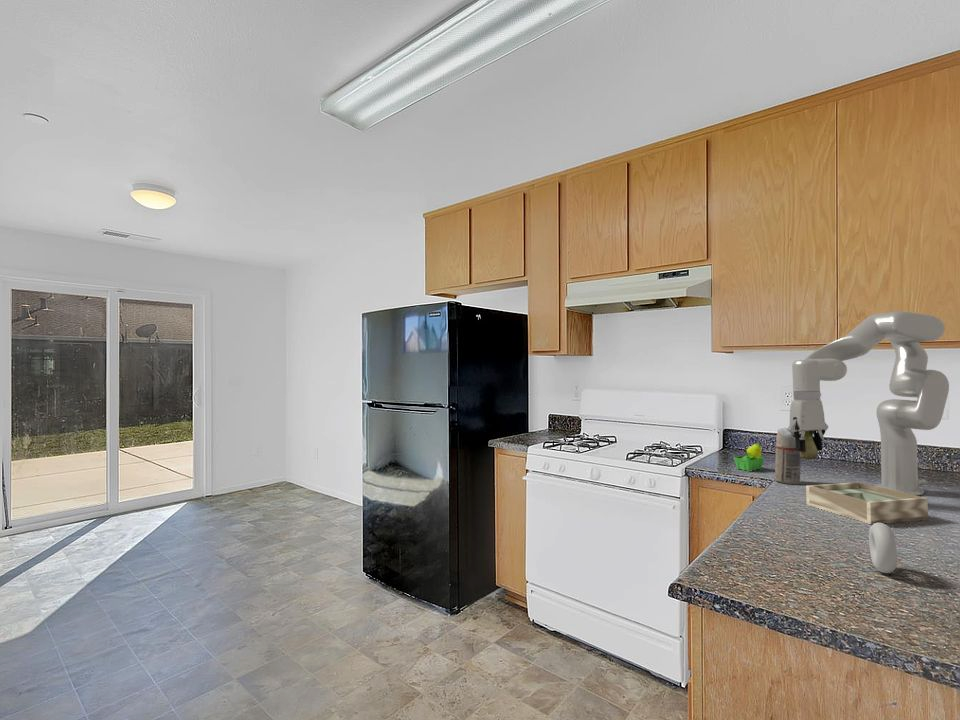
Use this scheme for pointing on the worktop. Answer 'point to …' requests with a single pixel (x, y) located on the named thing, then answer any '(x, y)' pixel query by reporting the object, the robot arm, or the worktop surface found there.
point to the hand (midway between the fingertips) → (808, 450)
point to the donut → (882, 548)
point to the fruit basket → (750, 459)
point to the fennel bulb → (809, 447)
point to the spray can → (787, 458)
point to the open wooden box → (867, 502)
